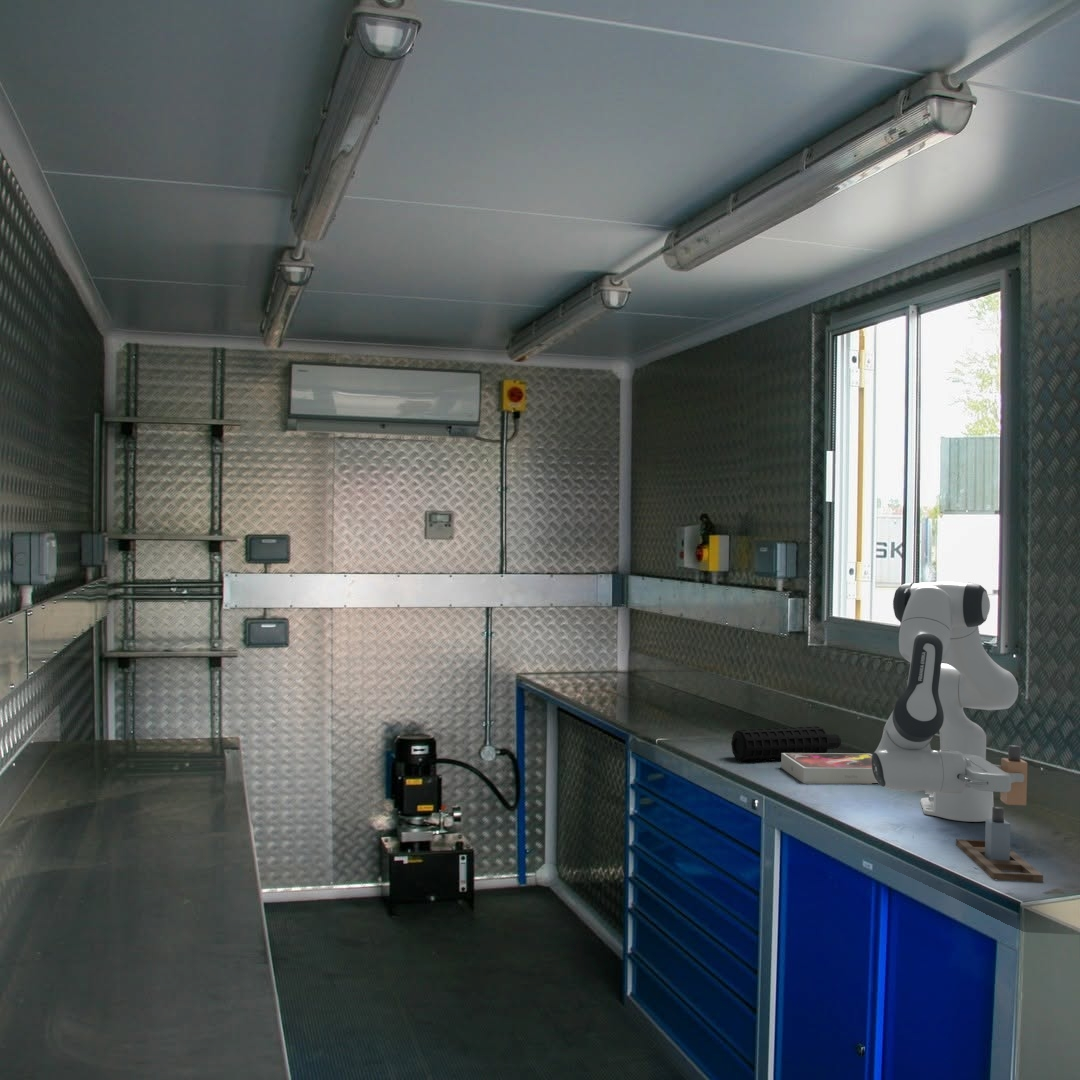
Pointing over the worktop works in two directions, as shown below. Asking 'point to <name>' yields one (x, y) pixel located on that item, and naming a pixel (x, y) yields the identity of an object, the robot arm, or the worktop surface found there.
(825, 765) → the product packaging
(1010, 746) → the terracotta plug
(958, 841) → the plug dock
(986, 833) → the slate plug
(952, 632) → the robot arm
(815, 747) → the roller
